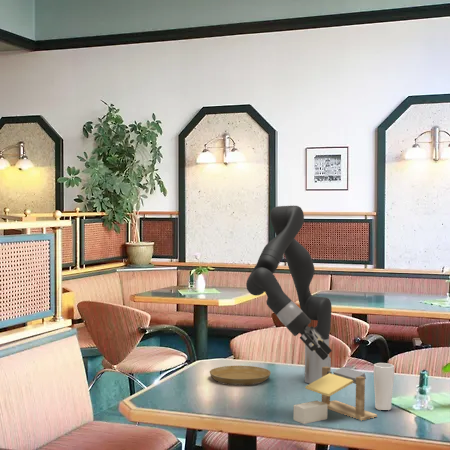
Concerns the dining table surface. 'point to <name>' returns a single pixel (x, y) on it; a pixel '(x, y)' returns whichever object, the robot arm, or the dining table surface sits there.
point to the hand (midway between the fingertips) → (327, 355)
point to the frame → (344, 408)
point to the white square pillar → (310, 412)
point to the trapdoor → (334, 381)
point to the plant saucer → (240, 375)
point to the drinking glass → (383, 385)
